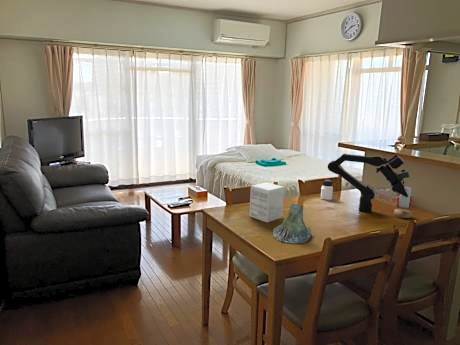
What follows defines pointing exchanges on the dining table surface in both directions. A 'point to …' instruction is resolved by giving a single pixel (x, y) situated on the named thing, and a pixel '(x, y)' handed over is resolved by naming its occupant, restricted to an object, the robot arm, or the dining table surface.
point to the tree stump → (293, 227)
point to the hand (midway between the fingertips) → (407, 195)
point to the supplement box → (266, 201)
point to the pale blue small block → (405, 198)
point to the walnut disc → (402, 213)
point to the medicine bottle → (327, 190)
